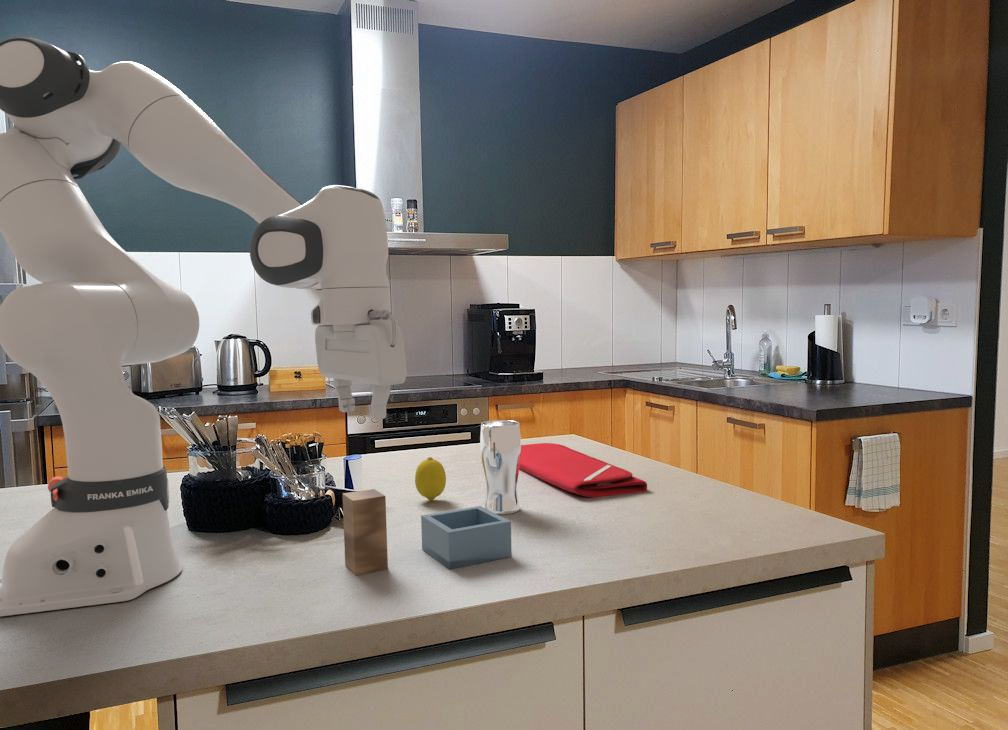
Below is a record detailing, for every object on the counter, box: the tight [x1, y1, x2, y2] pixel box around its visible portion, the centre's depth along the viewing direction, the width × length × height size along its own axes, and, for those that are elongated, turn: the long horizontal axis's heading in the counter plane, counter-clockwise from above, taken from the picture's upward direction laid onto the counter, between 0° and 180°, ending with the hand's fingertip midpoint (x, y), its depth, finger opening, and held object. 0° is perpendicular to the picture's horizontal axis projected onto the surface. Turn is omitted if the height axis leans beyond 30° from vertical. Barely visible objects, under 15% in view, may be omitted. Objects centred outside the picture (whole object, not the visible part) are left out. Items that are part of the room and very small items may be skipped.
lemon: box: [414, 456, 447, 502], centre depth 136 cm, size 6×6×8 cm
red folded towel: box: [519, 442, 648, 499], centre depth 156 cm, size 16×41×4 cm, turn 20°
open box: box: [420, 505, 512, 570], centre depth 107 cm, size 10×10×5 cm
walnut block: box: [342, 488, 389, 576], centre depth 102 cm, size 4×4×10 cm
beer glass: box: [479, 419, 522, 515], centre depth 129 cm, size 7×7×15 cm
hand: (361, 415), depth 101 cm, fingers open, 8 cm apart
